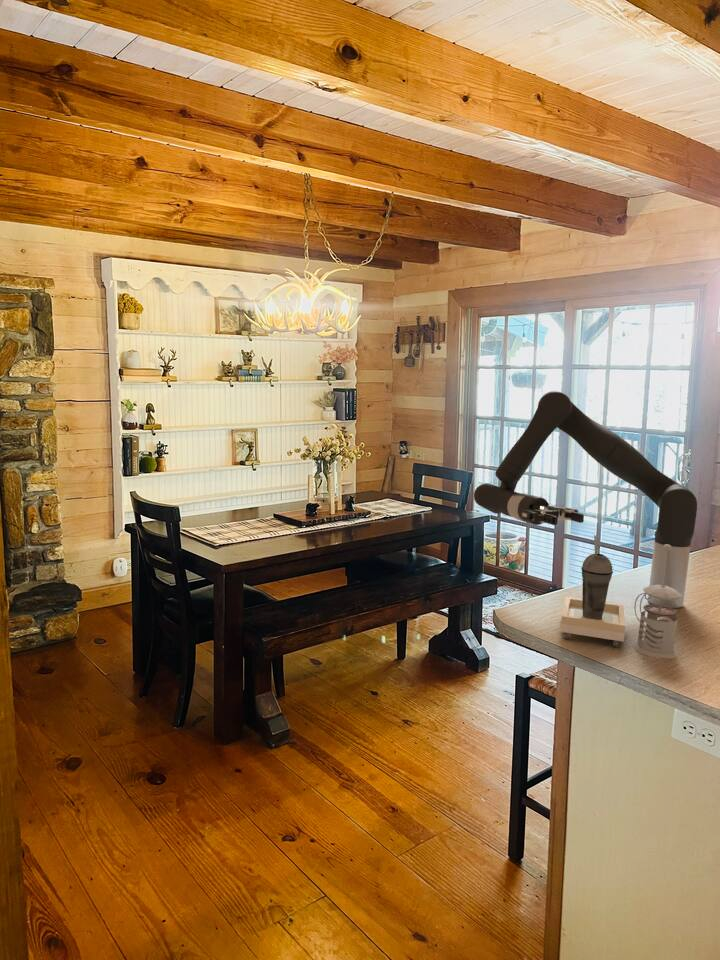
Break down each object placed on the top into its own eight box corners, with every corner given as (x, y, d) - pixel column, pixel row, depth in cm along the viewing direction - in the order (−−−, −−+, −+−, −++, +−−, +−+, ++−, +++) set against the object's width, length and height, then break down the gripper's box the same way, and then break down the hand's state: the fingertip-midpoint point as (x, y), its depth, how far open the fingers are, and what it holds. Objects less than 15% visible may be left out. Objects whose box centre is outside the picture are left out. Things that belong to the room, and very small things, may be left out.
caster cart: (563, 618, 181) (565, 596, 180) (621, 627, 177) (623, 605, 176) (559, 639, 166) (561, 616, 165) (622, 649, 162) (625, 625, 161)
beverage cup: (610, 623, 167) (618, 540, 164) (578, 619, 168) (586, 537, 165) (605, 613, 174) (614, 534, 171) (575, 610, 175) (583, 531, 172)
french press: (655, 660, 157) (668, 551, 153) (617, 641, 167) (628, 538, 163) (688, 655, 161) (701, 548, 157) (648, 637, 171) (660, 536, 167)
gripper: (507, 496, 188) (548, 506, 174) (549, 493, 194) (592, 503, 180) (506, 523, 189) (546, 536, 175) (547, 520, 196) (590, 532, 181)
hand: (569, 519), depth 177 cm, fingers open, 8 cm apart
